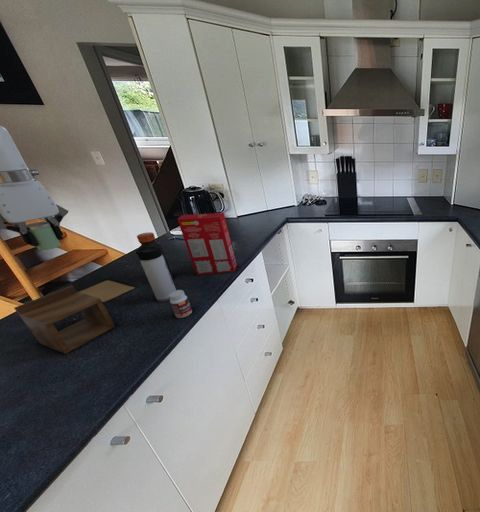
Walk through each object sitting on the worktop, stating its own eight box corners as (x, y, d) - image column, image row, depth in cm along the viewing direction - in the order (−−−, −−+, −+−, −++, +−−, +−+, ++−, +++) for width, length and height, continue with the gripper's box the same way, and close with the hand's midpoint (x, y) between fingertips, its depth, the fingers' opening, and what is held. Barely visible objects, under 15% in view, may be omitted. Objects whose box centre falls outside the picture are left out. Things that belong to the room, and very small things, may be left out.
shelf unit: (40, 343, 79) (13, 307, 73) (91, 318, 89) (71, 285, 83) (65, 354, 76) (40, 317, 70) (115, 326, 86) (97, 292, 80)
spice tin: (34, 248, 77) (20, 225, 74) (56, 242, 81) (43, 220, 78) (43, 251, 76) (29, 228, 73) (65, 245, 80) (52, 222, 77)
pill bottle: (184, 319, 90) (176, 298, 86) (172, 317, 90) (163, 296, 87) (195, 310, 94) (188, 289, 90) (183, 308, 95) (175, 288, 91)
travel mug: (151, 300, 98) (129, 251, 90) (168, 290, 104) (149, 243, 95) (165, 303, 97) (144, 253, 88) (181, 293, 103) (163, 245, 94)
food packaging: (237, 266, 122) (223, 212, 111) (234, 272, 118) (220, 216, 107) (200, 269, 119) (183, 214, 108) (196, 275, 115) (177, 219, 103)
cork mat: (76, 294, 101) (75, 293, 101) (107, 280, 110) (107, 280, 110) (104, 302, 97) (103, 301, 97) (135, 288, 105) (134, 287, 105)
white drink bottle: (154, 278, 112) (136, 233, 103) (174, 274, 115) (158, 230, 106) (151, 286, 107) (131, 239, 98) (172, 282, 110) (154, 236, 101)
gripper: (46, 171, 78) (77, 230, 86) (-53, 181, 64) (-6, 251, 72) (62, 173, 76) (91, 234, 84) (-38, 184, 62) (9, 256, 70)
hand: (46, 241), depth 78 cm, fingers closed on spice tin, 4 cm apart
